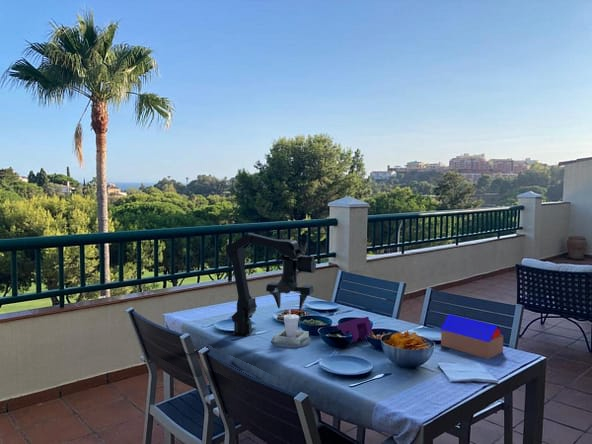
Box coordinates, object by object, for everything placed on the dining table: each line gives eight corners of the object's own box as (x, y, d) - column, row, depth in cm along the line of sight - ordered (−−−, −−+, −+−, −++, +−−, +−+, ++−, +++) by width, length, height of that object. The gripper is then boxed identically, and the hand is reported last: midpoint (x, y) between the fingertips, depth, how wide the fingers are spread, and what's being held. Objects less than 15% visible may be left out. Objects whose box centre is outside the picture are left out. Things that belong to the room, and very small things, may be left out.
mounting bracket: (331, 348, 195) (356, 341, 181) (326, 328, 198) (350, 320, 183) (348, 344, 200) (374, 337, 186) (343, 325, 203) (368, 316, 188)
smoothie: (282, 337, 189) (282, 304, 188) (298, 336, 190) (298, 303, 189) (283, 342, 183) (283, 308, 182) (299, 342, 183) (299, 307, 182)
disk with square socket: (265, 345, 181) (265, 337, 181) (280, 333, 196) (280, 326, 196) (304, 350, 176) (304, 342, 176) (316, 337, 191) (316, 330, 191)
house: (456, 339, 190) (456, 311, 189) (504, 352, 174) (505, 322, 173) (439, 345, 182) (440, 316, 181) (488, 360, 167) (489, 328, 166)
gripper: (260, 273, 181) (260, 312, 182) (305, 276, 175) (304, 316, 176) (271, 268, 192) (271, 305, 193) (314, 271, 185) (313, 309, 186)
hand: (289, 309), depth 187 cm, fingers open, 9 cm apart
